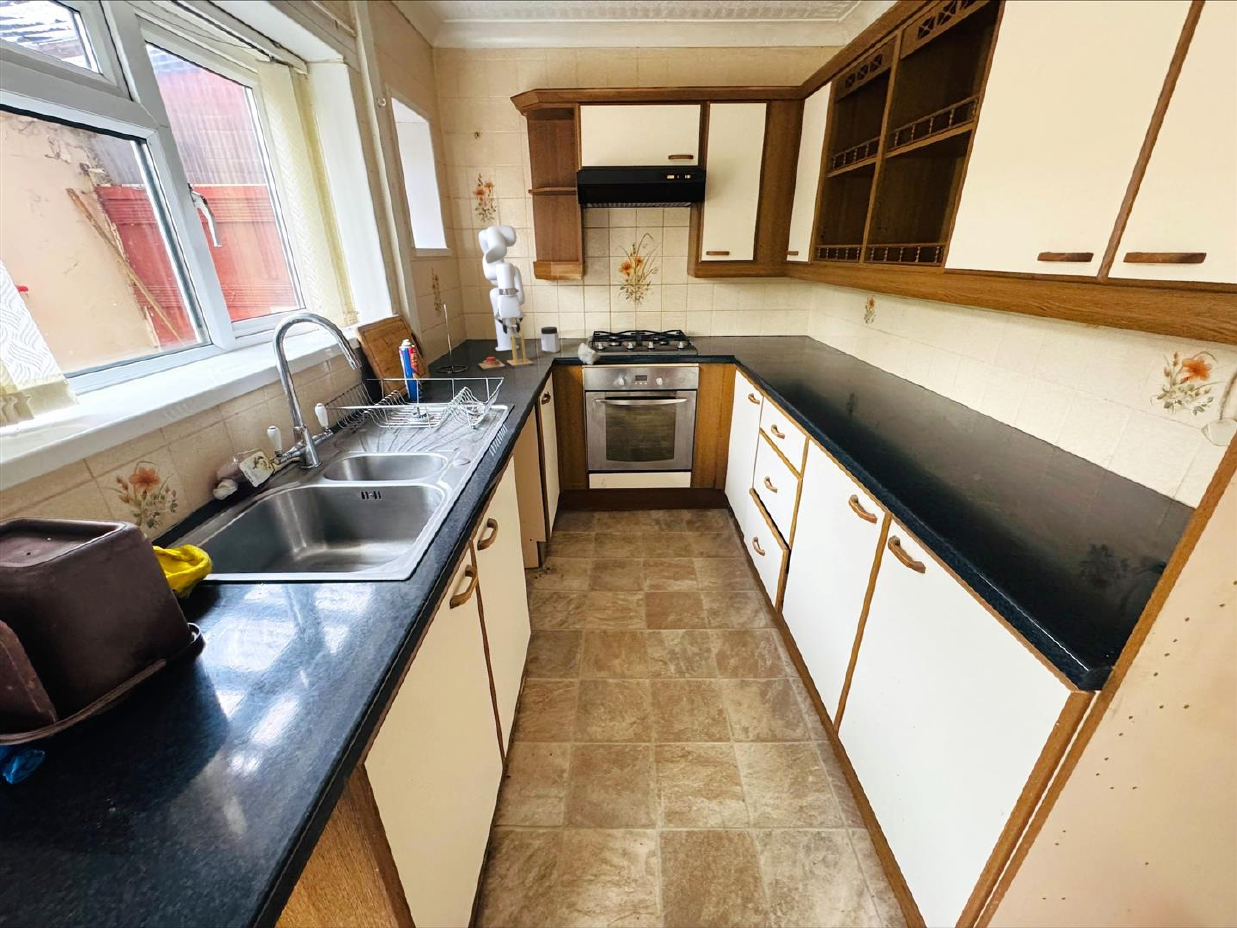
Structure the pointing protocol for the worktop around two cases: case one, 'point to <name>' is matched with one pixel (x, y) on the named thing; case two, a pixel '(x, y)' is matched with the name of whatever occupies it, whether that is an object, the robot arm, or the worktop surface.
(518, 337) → the switch lever
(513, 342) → the light wood peg stand
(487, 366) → the switch block
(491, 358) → the button
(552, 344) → the jar
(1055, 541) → the worktop surface
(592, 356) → the grey rock
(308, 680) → the worktop surface
